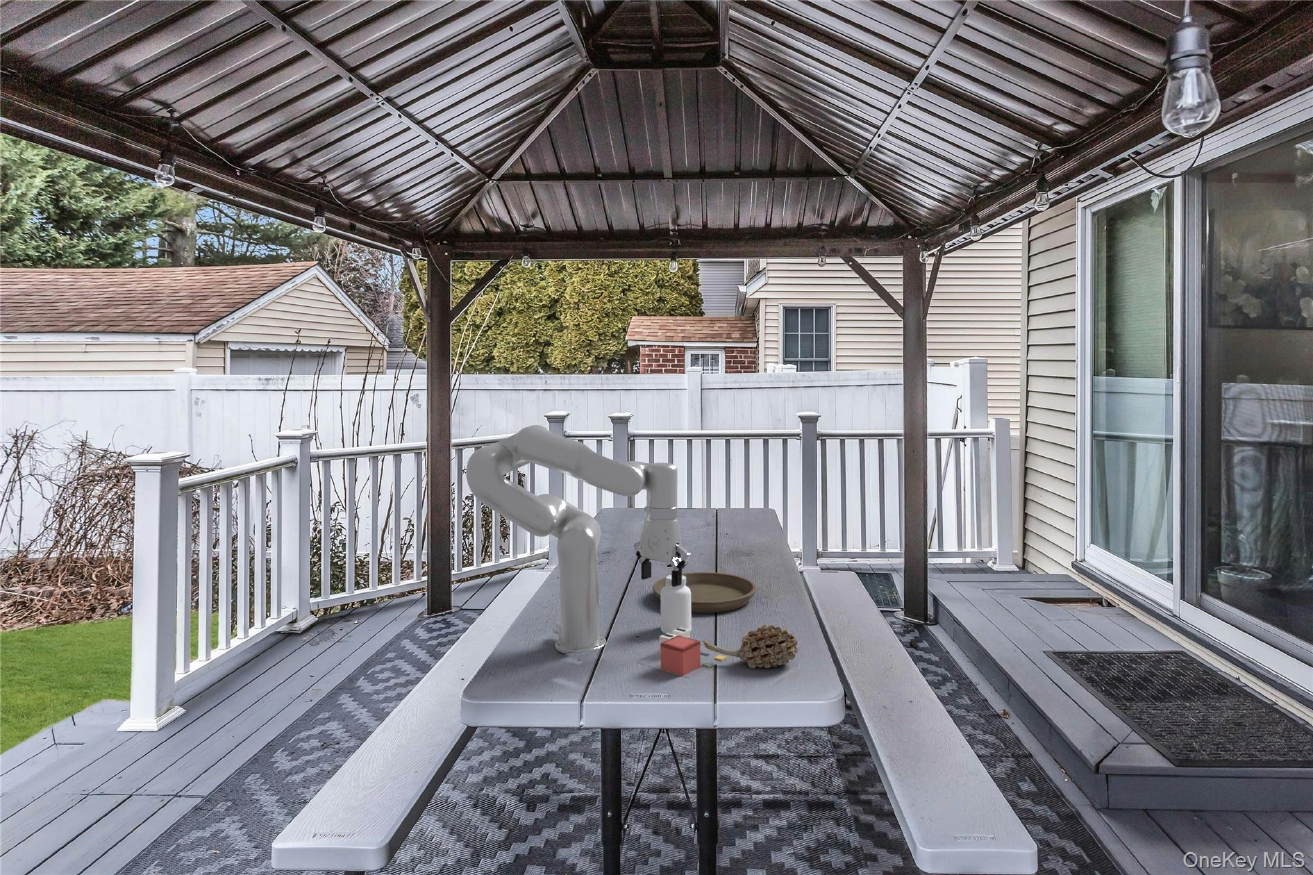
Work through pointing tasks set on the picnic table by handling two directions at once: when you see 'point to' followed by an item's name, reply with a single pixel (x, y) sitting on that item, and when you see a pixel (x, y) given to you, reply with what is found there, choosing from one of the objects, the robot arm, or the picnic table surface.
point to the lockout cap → (680, 655)
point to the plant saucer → (714, 591)
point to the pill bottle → (675, 606)
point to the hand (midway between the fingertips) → (661, 581)
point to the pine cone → (763, 647)
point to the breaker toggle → (682, 632)
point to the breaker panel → (706, 658)
